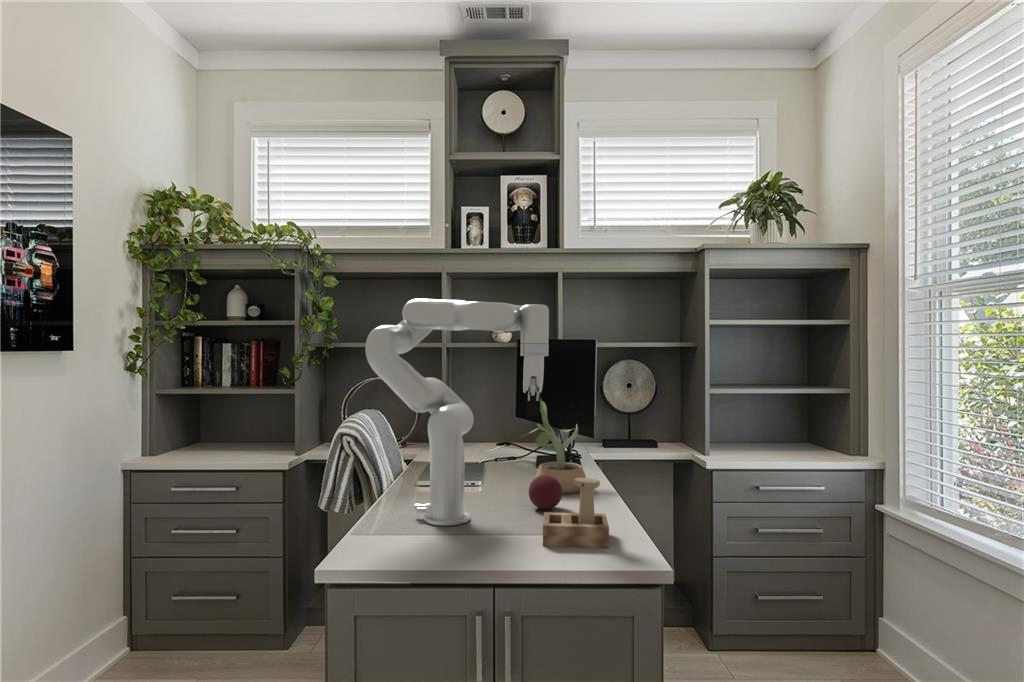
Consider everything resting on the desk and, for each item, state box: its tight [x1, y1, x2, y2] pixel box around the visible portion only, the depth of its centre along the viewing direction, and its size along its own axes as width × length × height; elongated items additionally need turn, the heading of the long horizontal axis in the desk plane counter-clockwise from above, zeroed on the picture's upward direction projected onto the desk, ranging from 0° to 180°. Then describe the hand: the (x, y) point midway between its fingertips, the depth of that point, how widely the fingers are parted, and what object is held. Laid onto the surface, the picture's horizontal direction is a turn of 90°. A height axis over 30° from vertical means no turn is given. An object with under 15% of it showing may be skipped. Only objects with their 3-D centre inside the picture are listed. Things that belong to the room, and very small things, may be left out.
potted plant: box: [518, 398, 587, 495], centre depth 219 cm, size 22×18×30 cm
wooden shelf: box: [542, 511, 610, 549], centre depth 164 cm, size 16×12×5 cm
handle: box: [574, 477, 601, 524], centre depth 163 cm, size 5×6×15 cm
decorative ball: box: [528, 475, 563, 511], centre depth 192 cm, size 10×10×10 cm
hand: (533, 414), depth 174 cm, fingers open, 9 cm apart
